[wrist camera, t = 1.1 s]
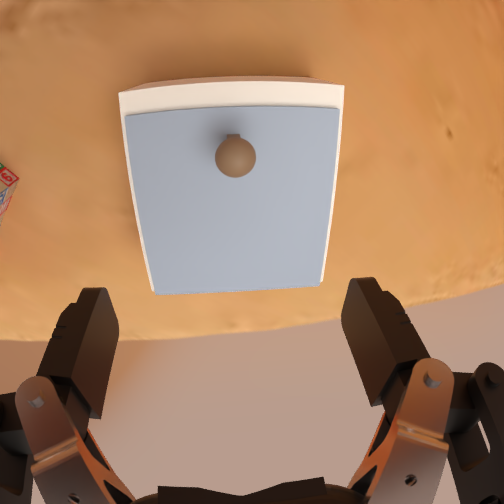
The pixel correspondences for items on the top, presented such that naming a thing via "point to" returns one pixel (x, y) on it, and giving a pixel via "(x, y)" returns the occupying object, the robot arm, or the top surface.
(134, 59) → the top surface
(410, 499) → the robot arm
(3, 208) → the stack of blocks
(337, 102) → the carton
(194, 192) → the box lid
